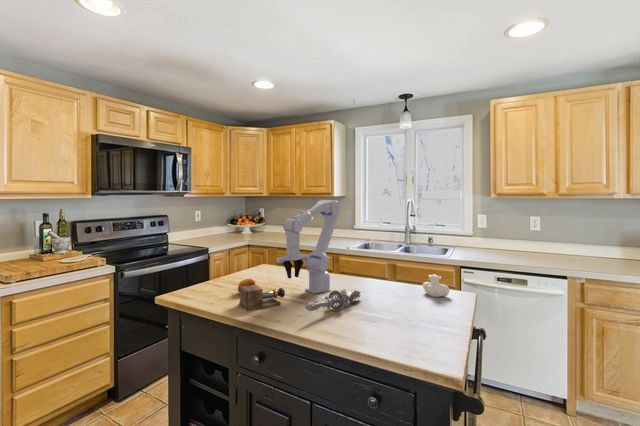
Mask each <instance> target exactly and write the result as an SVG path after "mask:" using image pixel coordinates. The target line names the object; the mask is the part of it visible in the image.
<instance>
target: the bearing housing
mask: <svg viewBox="0 0 640 426" xmlns="http://www.w3.org/2000/svg"><path fill="white" fill-rule="evenodd" d="M263 291H264V290H263V288H262V287H261V286H259V285H258V284H255V285H250V286H243V287H240V292H239V299H240V300H239V305H240V306H241V307H242V308H243V309H244V310H245V312H252V311H258V310H262V309H263V310H264V309H267V308H269V309H270V308H273V307H277V306H281V303H280V301H278V300H276V298H274V297H271V298H265V299H263V293H264V292H263Z"/></svg>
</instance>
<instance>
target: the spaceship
mask: <svg viewBox="0 0 640 426" xmlns="http://www.w3.org/2000/svg"><path fill="white" fill-rule="evenodd" d="M361 293H362V292H361V291H358V290H354V291H350V292H349V291H348V292H346V289H341V290H340V291H339V290H336V289H335V290H332V291H331V292H330V293H329V294H328V296H327V295H326V296H325V297H324V299H323V300H321V301H317V300H315V301H313V302H312V301H311V302H309V303H307V304H306V306H305V310H306V311H308V312H313V311H317V310H319V309H320V308H322V307H323V308H326V309H327V310H330V309H332V310H334V311H341V310H342V309H343V308H346V307H350V304H349V303H352V302H353V301H357V302H358V301H359V300H360V299H361V297H362V295H361ZM335 304H336V305H335Z"/></svg>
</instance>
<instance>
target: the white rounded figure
mask: <svg viewBox="0 0 640 426" xmlns="http://www.w3.org/2000/svg"><path fill="white" fill-rule="evenodd" d="M428 278H429V281H430V282H429V281H425V282H422V284H421V286H422V288H423V289H424V292H425V293H426V294H427V295H429V296H430V297H433V298H439V297H448V296H449V293H450V288H449V287H448V285H446V284H441V283H440V280H442V276H439V275H437V274H435V273H432V274H428Z"/></svg>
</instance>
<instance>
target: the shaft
mask: <svg viewBox="0 0 640 426" xmlns="http://www.w3.org/2000/svg"><path fill="white" fill-rule="evenodd" d="M285 293H286V291H285V289H284V288H283V287H279V288H278V289H273V290H271V291H265V292H263V299H265V298H271V297H273V298H274V299H278V298H284V297H285V295H286V294H285Z"/></svg>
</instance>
